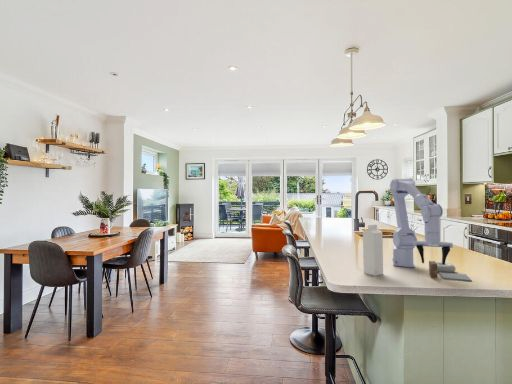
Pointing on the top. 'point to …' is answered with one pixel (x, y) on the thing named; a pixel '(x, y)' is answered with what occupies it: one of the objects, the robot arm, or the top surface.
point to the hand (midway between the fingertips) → (433, 263)
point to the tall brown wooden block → (433, 269)
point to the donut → (445, 267)
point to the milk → (373, 251)
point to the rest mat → (454, 276)
